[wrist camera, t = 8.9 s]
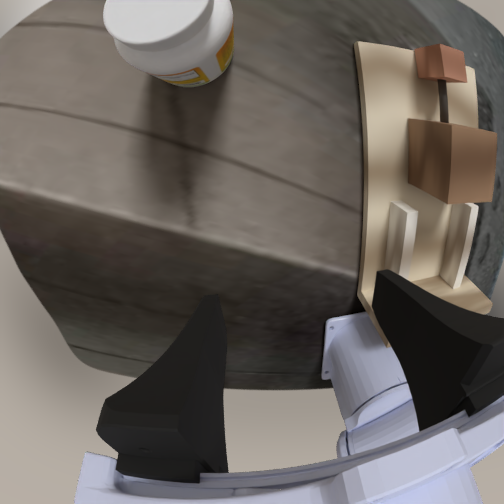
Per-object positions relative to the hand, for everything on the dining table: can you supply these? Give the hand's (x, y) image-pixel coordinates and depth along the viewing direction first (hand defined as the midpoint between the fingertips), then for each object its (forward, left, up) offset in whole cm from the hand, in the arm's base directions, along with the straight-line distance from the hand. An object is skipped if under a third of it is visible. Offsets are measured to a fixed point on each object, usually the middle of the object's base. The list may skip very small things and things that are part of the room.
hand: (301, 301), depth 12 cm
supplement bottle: (+13, +4, -10) cm, 17 cm away
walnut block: (+8, -13, -8) cm, 17 cm away
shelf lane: (+2, -13, -9) cm, 16 cm away
